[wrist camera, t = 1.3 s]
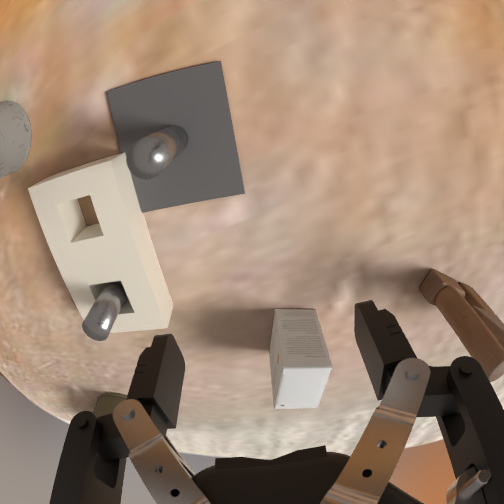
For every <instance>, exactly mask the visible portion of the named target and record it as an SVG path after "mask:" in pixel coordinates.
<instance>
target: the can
mask: <svg viewBox="0 0 504 504" xmlns="http://www.w3.org/2000/svg"><path fill="white" fill-rule="evenodd" d="M127 396H128V395H124V394H120V393H104V394H102V395H100V396H99V398H98V400H97V403H96V406H95V408H94V411H93V414H94V415H95V416H96V417H100V416H104V415H107V414H111V413H113V411H114V409H115V407H116V406H117V405H118V404H119V403H121V402H122V401H124V400H126V399H127Z"/></svg>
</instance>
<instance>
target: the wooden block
mask: <svg viewBox="0 0 504 504" xmlns="http://www.w3.org/2000/svg"><path fill="white" fill-rule="evenodd" d="M419 290H420V291H421V292H422V294H423V295H424V297H425V298H426V299H427V301H428V302H429V303H430V304H433V305H436V306H437V307H438V309H439V310H440V312H441V313H442V314H443V316H444V317H445V319H446V320H447V321H448V323H449V324H450V326H451V327H452V328H453V330H454V331H455V333H456V334H457V336H458V337H459V339H460V340H461V342H462V343H463V345H464V346H465V348H466V349H467V351H468V352H469V354H470V355H471V357H472V358H474V359H476V360H477V361H478V362H479V363H480V365H481V367H482V368H483V370H484V372H485V374H486V376H487V378H488V380H489V381H490V382H492V381H495V380H496V379H498V378H499V377H501V376H502V375H503V374H504V324H503V323H502V322H501V320H500V319H499V318H498V317H497V316H496V315H495V314H494V312H493V311H492V310H491V308H490V307H489V306H488V305H487V304H486V303H485V302H484V300H483V299H482V298H481V297H480V296H479V295H478V294H477V292H476V291H475V290H474V289H473V288H471V287H469V286H467V285H465V284H463V283H460V284H458V283H457V282H456V281H455V280H454V279H453V278H451V277H448V276H446V275H444V274H442V273H440V272H438V271H436V270H433V269H432V270H431V271H430V272H429V274H428V276H427V277H426V279H425V280H424V282H423V283H422V285H421V286H420V288H419Z"/></svg>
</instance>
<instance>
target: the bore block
mask: <svg viewBox="0 0 504 504" xmlns="http://www.w3.org/2000/svg"><path fill="white" fill-rule="evenodd" d="M28 190H29V193H30V196H31V199H32V202H33V205H34V208H35V211H36V214H37V217H38V219H39V222H40V225H41V227H42V230H43V233H44V235H45V238H46V240H47V243H48V245H49V248H50V250H51V252H52V255H53V257H54V260H55V262H56V264H57V266H58V269H59V271H60V273H61V275H62V277H63V280H64V282H65V284H66V286H67V288H68V290H69V292H70V294H71V296H72V298H73V300H74V302H75V304H76V306H77V308H78V310H79V312H80V314H81V316H82V318H83V320H85V318H86V316H87V314H88V313H89V311H90V309H91V308H92V306H93V304H94V302H95V301H96V299H97V297H98V296H99V294H100V292H101V291H102V289H103V287H104V286H105V284H106V283H107V282H114V281H121V282H122V284H123V287H124V289H125V292H126V294H127V297H126V299H125V301H124V303H123V305H122V307H121V309H120V311H119V313H118V316H117V318H116V320H115V322H114V324H113V326H112V328H111V331H110V333H115V332H129V331H141V330H152V329H163V328H167V327H168V324H169V320H170V317H171V313H172V310H173V306H174V305H173V302H172V299H171V296H170V294H169V291H168V288H167V285H166V282H165V279H164V277H163V274H162V271H161V268H160V265H159V262H158V259H157V256H156V253H155V250H154V247H153V244H152V240H151V237H150V234H149V231H148V228H147V224H146V221H145V218H144V214H143V213H142V212H141V209H140V206H139V202H138V199H137V195H136V192H135V188H134V184H133V181H132V177H131V173H130V170H129V168H128V166H127V163H126V154H125V152H124V153H120V154H116V155H113V156H109V157H106V158H103V159H99V160H96V161H93V162H90V163H87V164H84V165H81V166H78V167H75V168H72V169H69V170H66V171H63V172H60V173H57V174H55V175H52V176H49V177H47V178H45V179H44V180H42V181H40V182H38V183H36V184H35V185H33V186H31V187H30V188H28ZM88 195H90V196H91V200H92V203H93V206H94V209H95V212H96V215H97V218H98V221H99V223H98V224H94V225H90V226H87V225H86V222H85V219H84V217H83V214H82V211H81V208H80V205H79V202H78V198H81V197H85V196H88Z"/></svg>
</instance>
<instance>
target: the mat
mask: <svg viewBox="0 0 504 504" xmlns="http://www.w3.org/2000/svg"><path fill="white" fill-rule="evenodd" d="M107 94H108V99H109V104H110V109H111V113H112V118H113V122H114V127H115V131H116V135H117V139H118V144H119V148H120V152H121V153H124V152H125V154H126V155H127V151H128V149H129V148H130V146H131V145H132V144H133V143H134V142H136V141H138V140H140V139H142V138H144V137H146V136H148V135H151V134H153V133H155V132H157V131H160V130H162V129H164V128H166V127H169V126H172V125H177V126H180V127H182V128H183V129H184V130H185V131H186V132H187V134H188V138H189V141H188V145H187V147H186V148H185V150H184V151H182V152H181V153H180V154H179V155H178V156H177V157H176V158H175V159H174V160H173V161H172V162H171V163H170V164H169V165H168V166H167V167H166V168H165V169H164V170H163V171H162V172H161V173H160V174H159V175H157V176H156V177H154V178H151V179H141V178H138V177H136V176H135V175H133V174H132V173H131V172H130V173H131V177H132V181H133V184H134V188H135V192H136V195H137V199H138V202H139V206H140V209H141V212H142V213H143V212H148V211H153V210H158V209H162V208H167V207H173V206H178V205H183V204H188V203H193V202H199V201H204V200H210V199H215V198H221V197H227V196H233V195H239V194H245V192H244V187H243V181H242V175H241V170H240V164H239V159H238V153H237V148H236V142H235V137H234V131H233V126H232V120H231V115H230V109H229V104H228V98H227V93H226V87H225V82H224V76H223V71H222V65H221V61H219V62H213V63H208V64H204V65H199V66H194V67H190V68H186V69H181V70H177V71H173V72H169V73H166V74H162V75H158V76H155V77H151V78H148V79H144V80H141V81H138V82H134V83H131V84H128V85H125V86H122V87H119V88H116V89H113V90H110V91H107Z"/></svg>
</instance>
